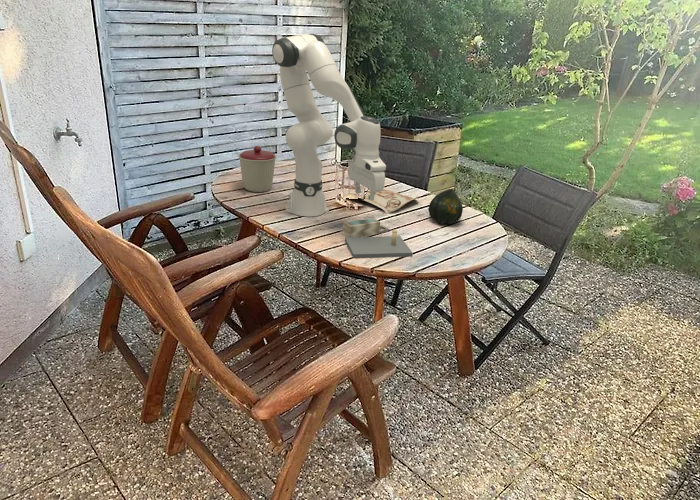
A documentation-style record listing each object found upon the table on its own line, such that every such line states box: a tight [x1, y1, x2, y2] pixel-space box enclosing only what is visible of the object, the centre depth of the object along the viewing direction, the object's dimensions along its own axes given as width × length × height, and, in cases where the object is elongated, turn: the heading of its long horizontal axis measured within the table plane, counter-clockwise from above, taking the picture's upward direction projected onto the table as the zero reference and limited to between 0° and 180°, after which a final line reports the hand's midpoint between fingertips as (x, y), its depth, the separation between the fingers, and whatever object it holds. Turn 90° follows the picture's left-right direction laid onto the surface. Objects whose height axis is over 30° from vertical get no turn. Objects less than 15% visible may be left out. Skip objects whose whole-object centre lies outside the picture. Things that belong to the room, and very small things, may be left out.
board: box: [344, 229, 414, 259], centre depth 196 cm, size 16×22×7 cm
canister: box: [237, 145, 278, 193], centre depth 252 cm, size 18×18×21 cm
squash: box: [427, 188, 464, 225], centre depth 228 cm, size 14×15×15 cm
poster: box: [363, 189, 419, 214], centre depth 252 cm, size 28×6×30 cm
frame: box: [342, 217, 390, 237], centre depth 211 cm, size 19×6×5 cm, turn 122°
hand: (364, 196), depth 204 cm, fingers open, 8 cm apart
